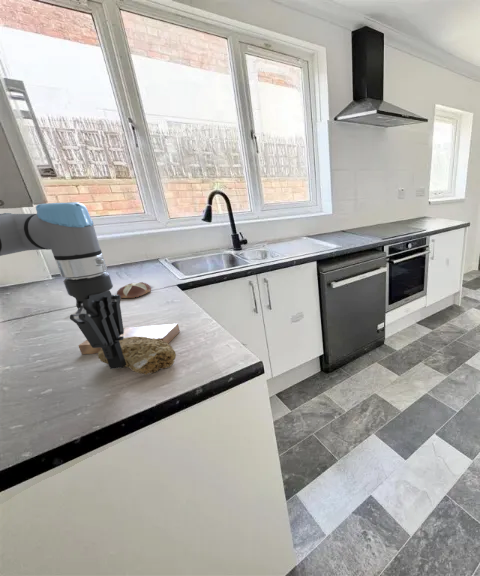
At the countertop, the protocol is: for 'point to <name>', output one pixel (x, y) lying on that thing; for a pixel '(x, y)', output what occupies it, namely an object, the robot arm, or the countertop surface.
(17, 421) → the countertop surface
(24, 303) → the countertop surface
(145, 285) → the bread
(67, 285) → the robot arm
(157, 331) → the wooden board
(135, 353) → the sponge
